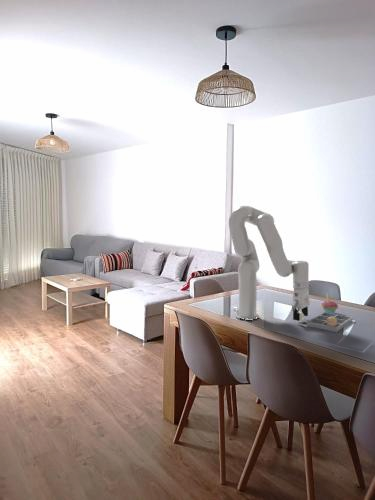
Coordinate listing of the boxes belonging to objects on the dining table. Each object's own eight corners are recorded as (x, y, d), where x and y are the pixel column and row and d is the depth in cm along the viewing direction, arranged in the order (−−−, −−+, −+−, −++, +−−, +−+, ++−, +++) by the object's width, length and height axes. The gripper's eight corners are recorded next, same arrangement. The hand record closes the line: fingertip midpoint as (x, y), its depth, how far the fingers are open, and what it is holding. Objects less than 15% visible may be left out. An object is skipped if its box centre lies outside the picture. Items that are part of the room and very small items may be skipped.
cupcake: (327, 316, 198) (328, 294, 197) (318, 312, 206) (318, 291, 205) (341, 315, 200) (341, 293, 199) (331, 311, 209) (331, 290, 207)
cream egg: (293, 322, 189) (293, 311, 188) (297, 320, 192) (297, 309, 191) (301, 324, 186) (301, 313, 185) (305, 322, 189) (305, 311, 188)
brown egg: (325, 328, 178) (325, 316, 177) (328, 326, 181) (329, 314, 180) (334, 330, 175) (334, 318, 174) (337, 328, 178) (338, 316, 177)
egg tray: (306, 326, 182) (306, 321, 182) (323, 316, 198) (323, 311, 198) (336, 333, 172) (336, 327, 172) (352, 321, 189) (352, 317, 188)
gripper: (300, 289, 178) (300, 323, 179) (314, 283, 190) (314, 315, 192) (285, 287, 183) (286, 320, 184) (301, 281, 195) (301, 312, 197)
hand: (300, 317), depth 188 cm, fingers open, 9 cm apart
